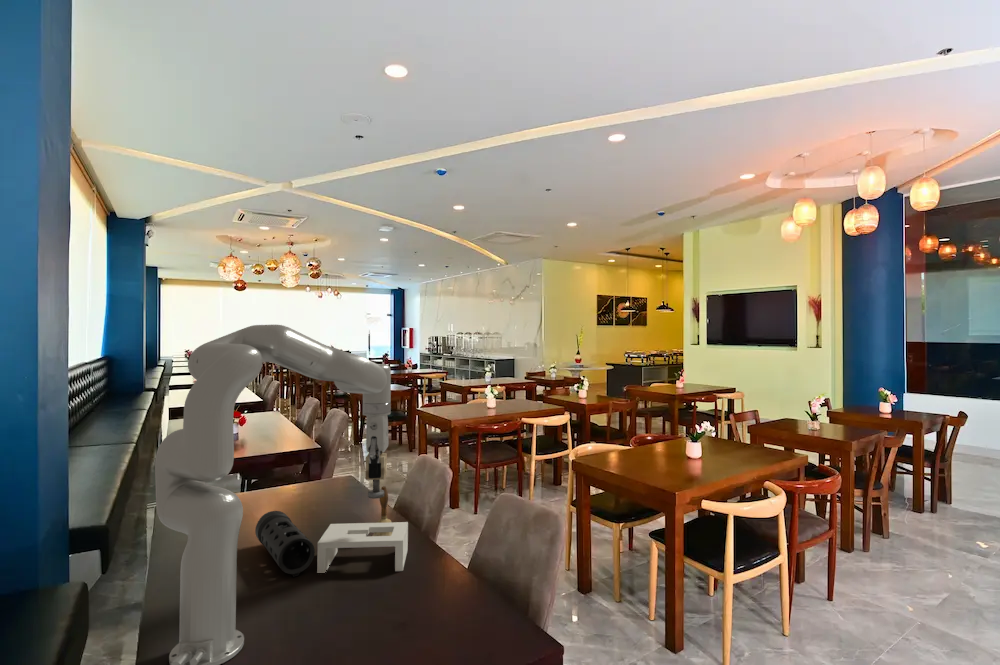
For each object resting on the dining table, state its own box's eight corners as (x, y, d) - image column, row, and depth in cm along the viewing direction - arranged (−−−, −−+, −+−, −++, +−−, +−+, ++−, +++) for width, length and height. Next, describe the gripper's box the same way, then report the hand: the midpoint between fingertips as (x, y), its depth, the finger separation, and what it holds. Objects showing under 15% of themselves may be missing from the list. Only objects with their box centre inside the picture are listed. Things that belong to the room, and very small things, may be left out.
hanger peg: (384, 498, 138) (384, 457, 138) (365, 499, 138) (365, 457, 138) (386, 493, 143) (386, 453, 143) (368, 493, 143) (368, 453, 143)
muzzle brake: (276, 583, 128) (277, 541, 128) (253, 547, 150) (253, 511, 150) (315, 573, 133) (316, 533, 134) (287, 540, 156) (287, 506, 156)
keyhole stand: (402, 571, 135) (403, 540, 135) (317, 573, 133) (317, 542, 133) (407, 549, 149) (407, 522, 149) (330, 551, 147) (330, 523, 147)
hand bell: (371, 545, 152) (371, 491, 152) (369, 535, 160) (369, 484, 160) (399, 542, 154) (400, 489, 155) (396, 532, 162) (396, 482, 163)
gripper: (386, 413, 133) (386, 483, 132) (394, 404, 150) (393, 467, 149) (357, 413, 132) (356, 484, 132) (368, 405, 149) (367, 467, 149)
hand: (376, 474), depth 141 cm, fingers closed on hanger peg, 5 cm apart
